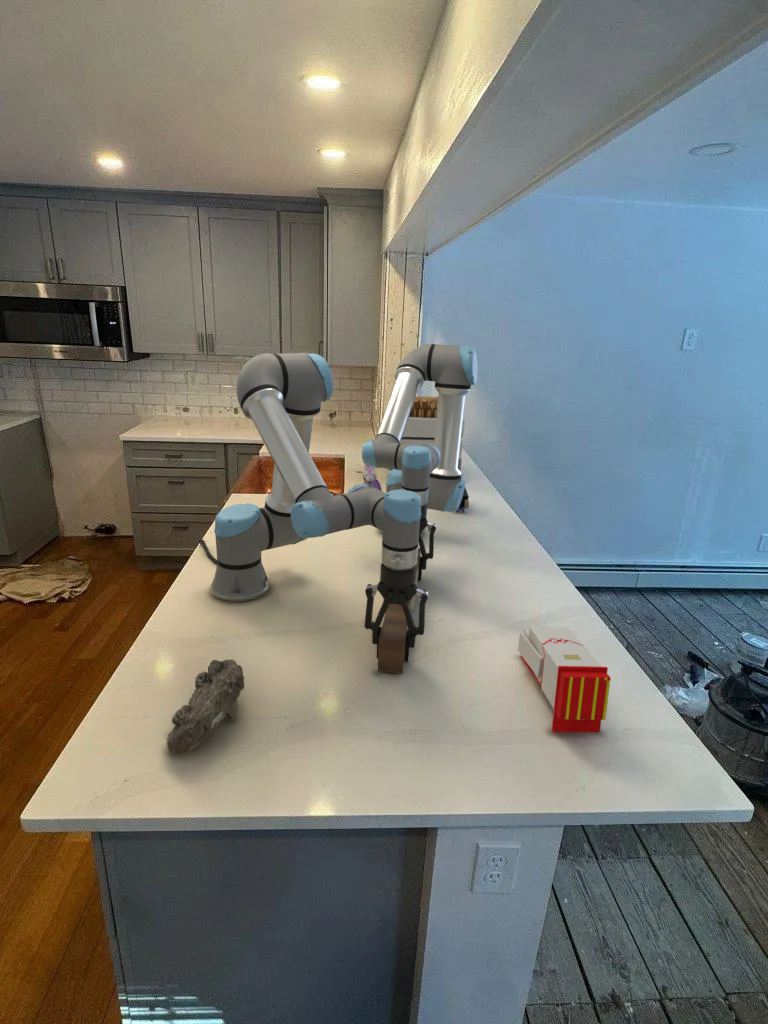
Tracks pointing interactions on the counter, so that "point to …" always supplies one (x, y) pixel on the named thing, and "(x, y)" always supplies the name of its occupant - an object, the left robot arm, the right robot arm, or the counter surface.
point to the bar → (395, 634)
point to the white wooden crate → (424, 424)
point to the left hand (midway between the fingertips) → (392, 656)
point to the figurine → (371, 477)
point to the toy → (566, 678)
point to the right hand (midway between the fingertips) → (409, 577)
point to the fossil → (206, 705)
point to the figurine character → (464, 501)
